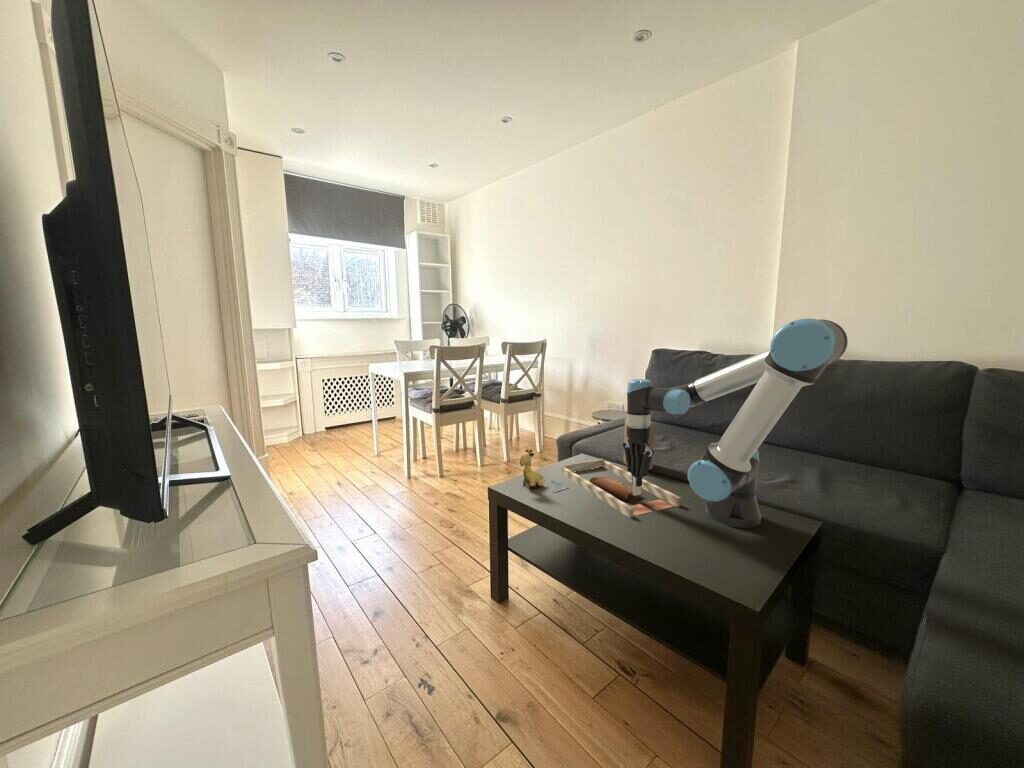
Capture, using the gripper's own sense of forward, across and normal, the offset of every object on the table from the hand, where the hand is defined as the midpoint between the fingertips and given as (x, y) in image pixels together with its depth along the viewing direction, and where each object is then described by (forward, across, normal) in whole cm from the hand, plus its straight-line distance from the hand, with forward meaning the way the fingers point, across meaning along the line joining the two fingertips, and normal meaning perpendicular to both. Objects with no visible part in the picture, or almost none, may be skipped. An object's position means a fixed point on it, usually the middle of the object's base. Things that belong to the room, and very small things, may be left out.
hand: (636, 494), depth 136 cm
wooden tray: (+2, +12, 0) cm, 12 cm away
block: (+2, +27, -24) cm, 37 cm away
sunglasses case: (+3, +10, 0) cm, 10 cm away
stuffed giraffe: (+3, +24, +26) cm, 35 cm away
